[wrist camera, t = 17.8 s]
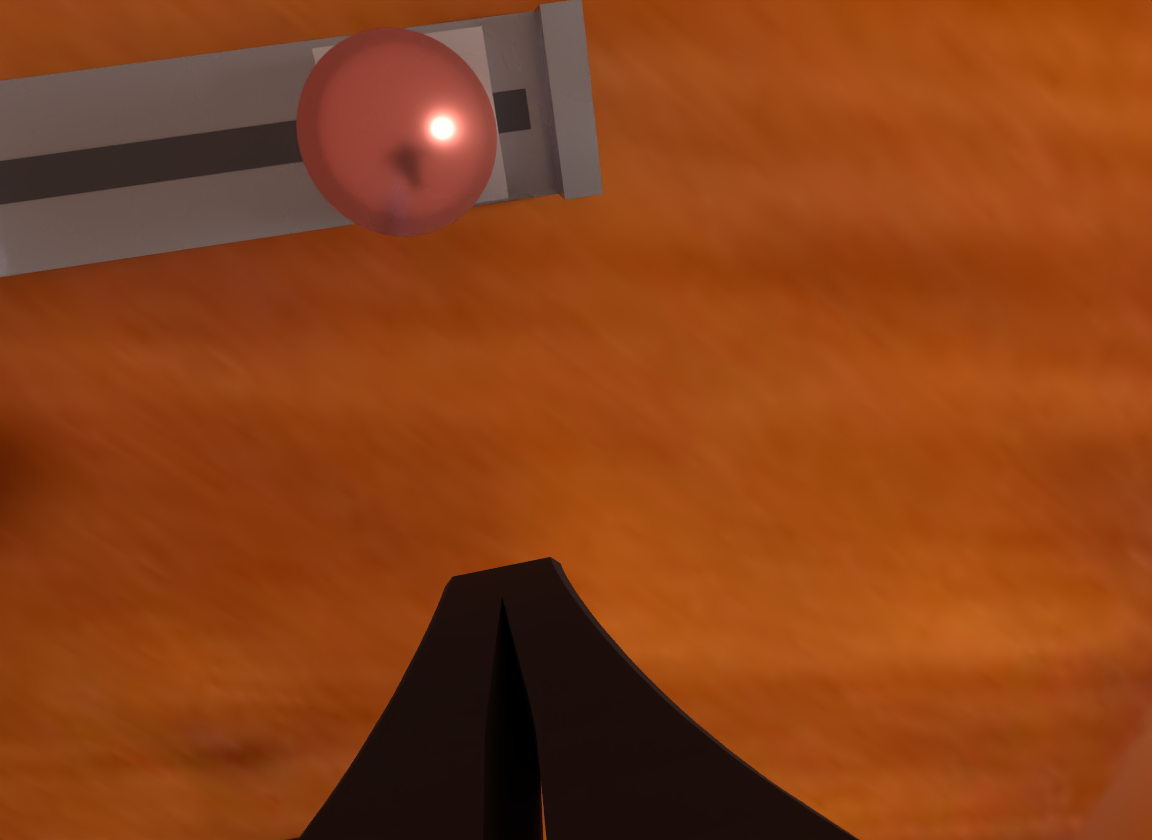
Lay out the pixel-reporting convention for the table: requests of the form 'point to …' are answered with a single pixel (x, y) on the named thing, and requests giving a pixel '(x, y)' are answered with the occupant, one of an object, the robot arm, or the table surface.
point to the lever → (402, 128)
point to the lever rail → (249, 144)
